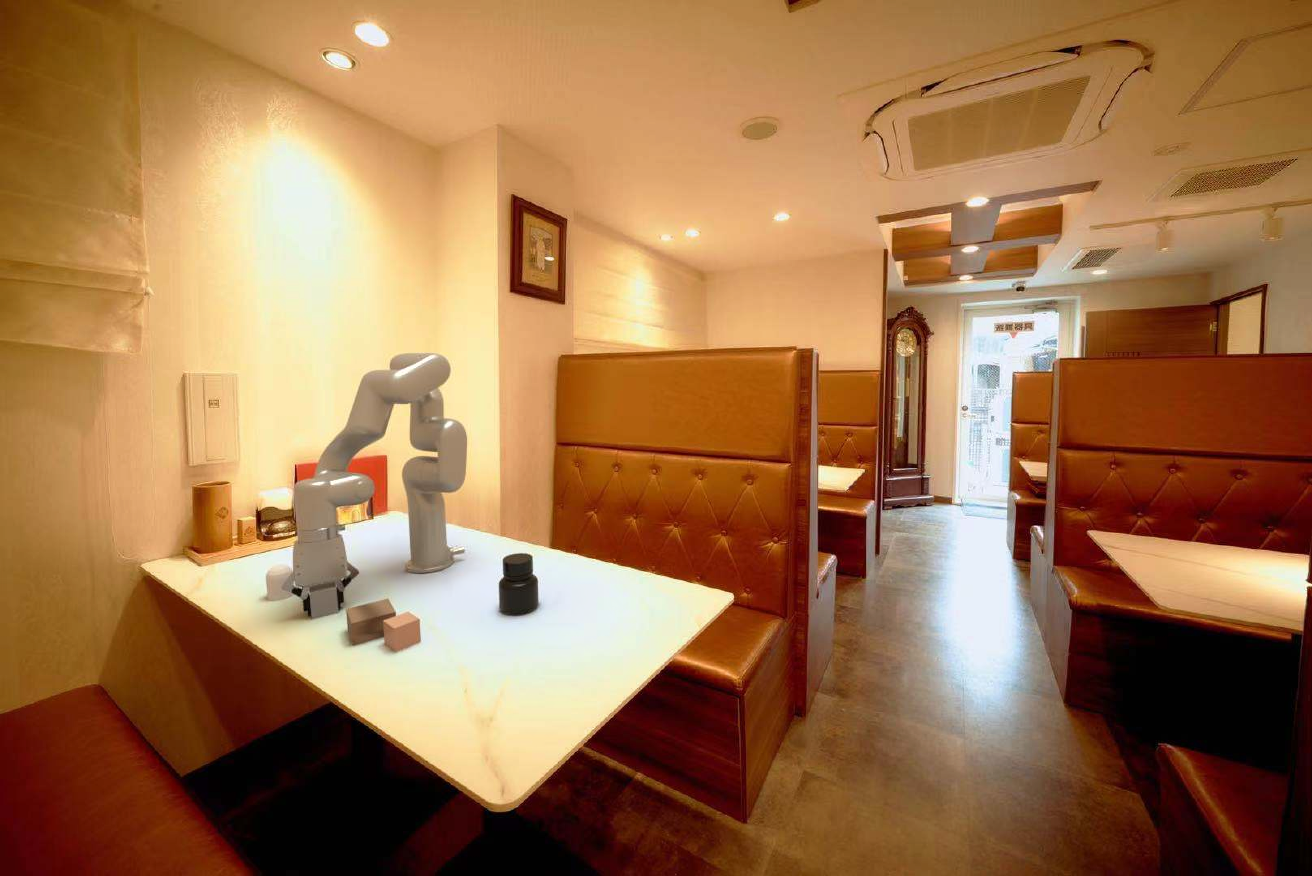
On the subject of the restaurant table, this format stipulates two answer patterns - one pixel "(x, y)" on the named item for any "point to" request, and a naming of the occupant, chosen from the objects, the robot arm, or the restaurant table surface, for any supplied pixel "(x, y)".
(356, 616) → the walnut block
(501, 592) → the ink bottle
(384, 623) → the terracotta cube
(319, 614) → the grey block
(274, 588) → the capsule
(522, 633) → the restaurant table surface
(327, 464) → the robot arm
